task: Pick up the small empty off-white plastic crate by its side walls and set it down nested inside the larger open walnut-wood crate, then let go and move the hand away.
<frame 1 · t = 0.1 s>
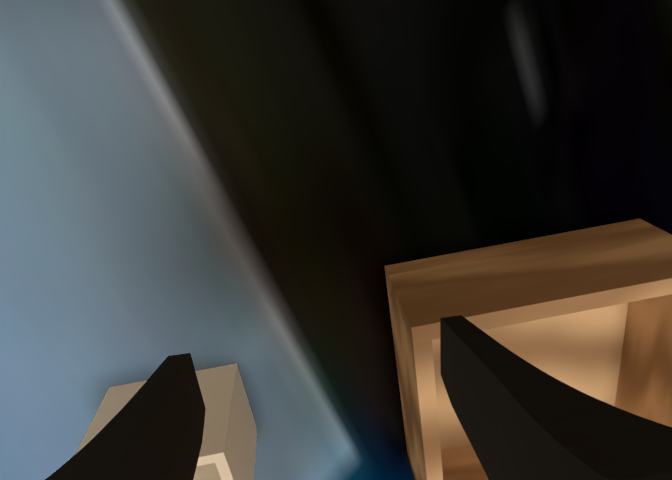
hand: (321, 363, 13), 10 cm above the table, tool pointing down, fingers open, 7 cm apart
small crate: (186, 408, 26), on the table
big crate: (512, 347, 26), on the table
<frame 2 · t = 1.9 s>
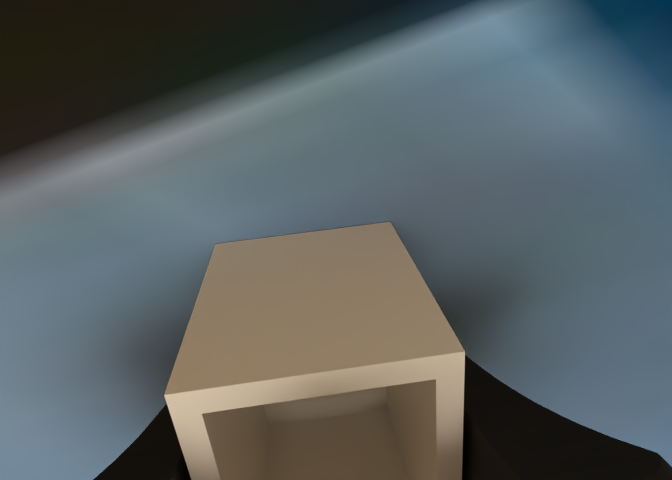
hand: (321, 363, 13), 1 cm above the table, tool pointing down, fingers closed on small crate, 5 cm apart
small crate: (317, 334, 14), on the table, touching gripper
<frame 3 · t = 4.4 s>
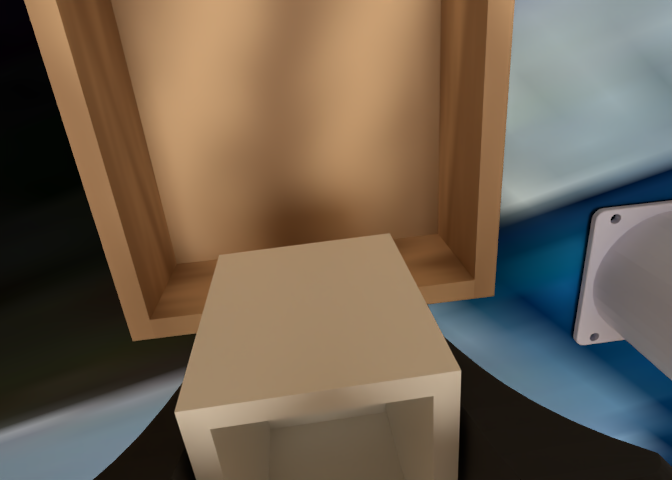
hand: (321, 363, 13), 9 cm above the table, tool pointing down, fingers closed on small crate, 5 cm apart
small crate: (318, 340, 15), point 8 cm above the table, touching gripper
big crate: (293, 111, 19), on the table
when the fingers open (4 cm above the table, at t = 6.8 s): small crate drops 1 cm, resting on big crate.
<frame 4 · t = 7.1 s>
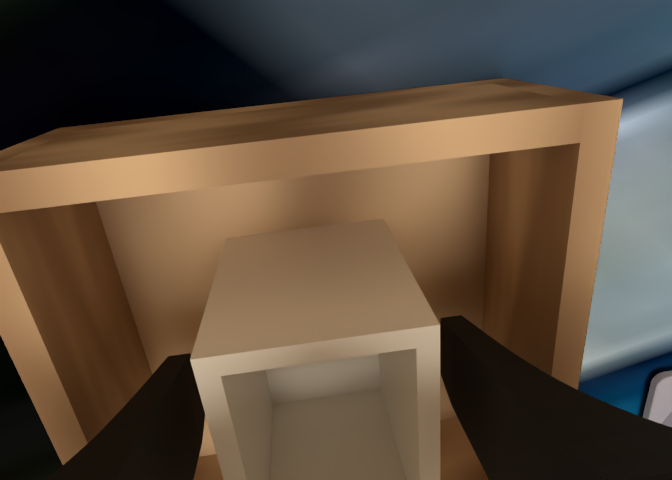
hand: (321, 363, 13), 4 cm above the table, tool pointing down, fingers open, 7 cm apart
small crate: (317, 320, 16), point 1 cm above the table, touching big crate
big crate: (313, 294, 17), on the table
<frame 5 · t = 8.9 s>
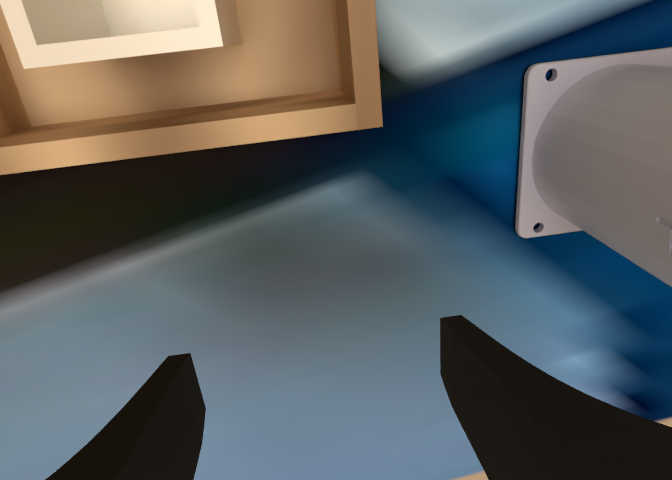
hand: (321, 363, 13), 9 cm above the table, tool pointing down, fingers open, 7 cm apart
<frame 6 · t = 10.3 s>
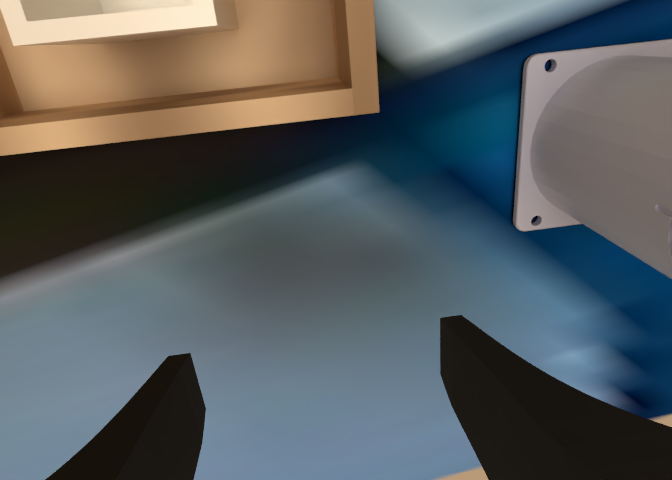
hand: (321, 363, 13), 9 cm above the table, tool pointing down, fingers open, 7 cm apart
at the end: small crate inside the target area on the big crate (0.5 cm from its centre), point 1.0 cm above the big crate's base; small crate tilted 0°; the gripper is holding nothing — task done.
